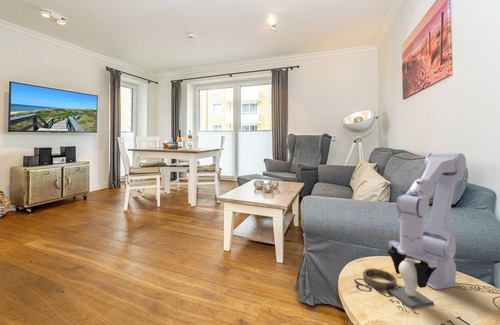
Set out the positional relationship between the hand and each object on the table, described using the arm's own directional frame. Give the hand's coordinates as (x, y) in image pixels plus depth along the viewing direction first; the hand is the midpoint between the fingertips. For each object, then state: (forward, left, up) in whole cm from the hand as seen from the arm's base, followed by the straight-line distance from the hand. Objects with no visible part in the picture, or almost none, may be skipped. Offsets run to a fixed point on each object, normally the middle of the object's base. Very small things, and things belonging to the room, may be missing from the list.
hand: (410, 279), depth 70 cm
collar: (+2, -10, -6) cm, 11 cm away
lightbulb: (0, 0, -5) cm, 5 cm away
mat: (0, 0, -6) cm, 6 cm away
